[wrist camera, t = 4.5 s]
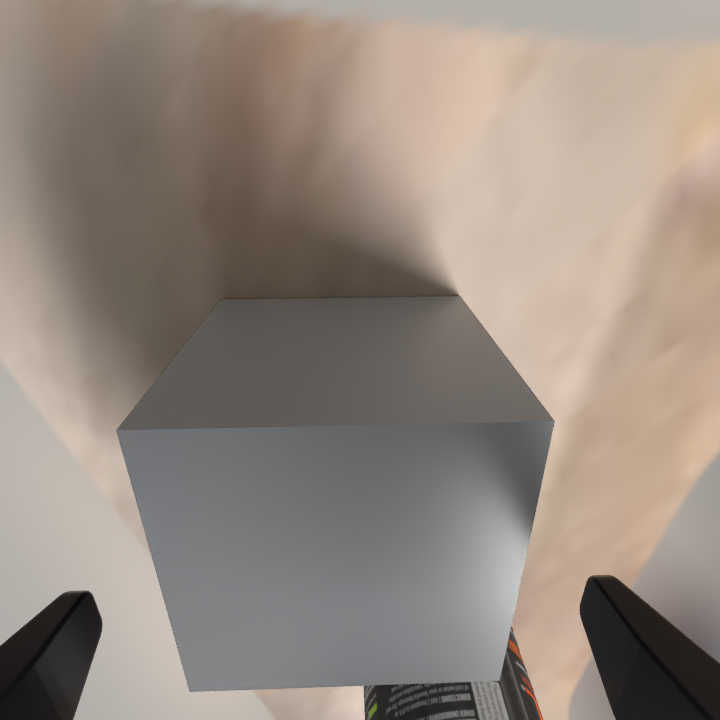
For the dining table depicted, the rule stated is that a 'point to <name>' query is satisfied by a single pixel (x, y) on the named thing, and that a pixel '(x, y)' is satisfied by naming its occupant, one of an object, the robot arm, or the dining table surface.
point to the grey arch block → (338, 492)
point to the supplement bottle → (459, 697)
